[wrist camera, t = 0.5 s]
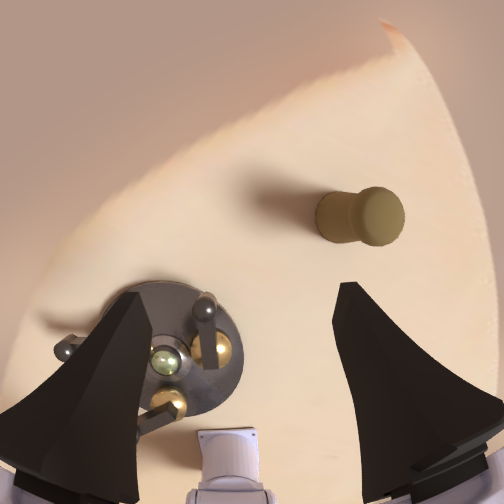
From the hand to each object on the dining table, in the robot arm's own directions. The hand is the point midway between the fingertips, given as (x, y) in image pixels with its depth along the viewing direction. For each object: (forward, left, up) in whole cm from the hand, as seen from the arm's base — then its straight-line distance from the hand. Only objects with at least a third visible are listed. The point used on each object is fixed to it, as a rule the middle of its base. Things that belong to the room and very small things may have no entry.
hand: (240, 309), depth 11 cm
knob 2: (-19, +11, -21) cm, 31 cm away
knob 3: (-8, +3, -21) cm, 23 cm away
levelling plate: (-12, +9, -23) cm, 27 cm away
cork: (+3, -12, -23) cm, 26 cm away
